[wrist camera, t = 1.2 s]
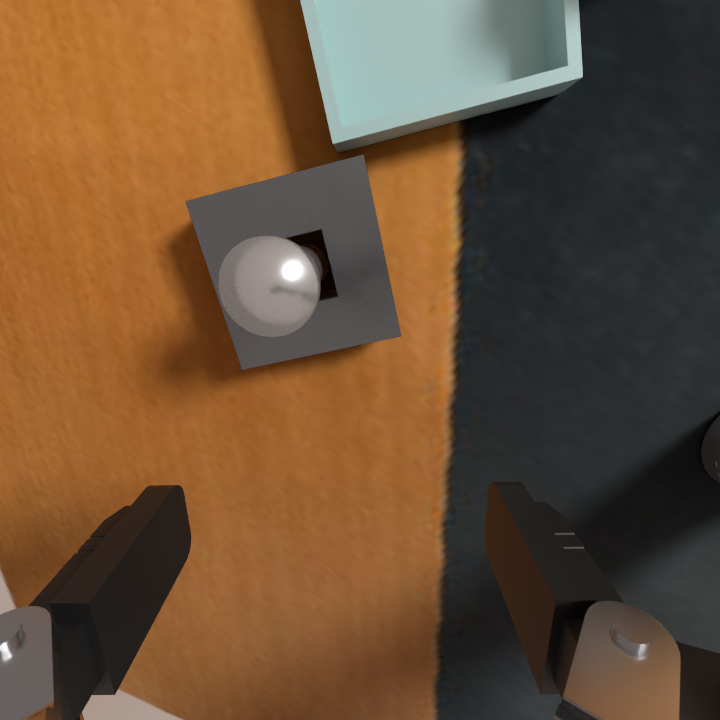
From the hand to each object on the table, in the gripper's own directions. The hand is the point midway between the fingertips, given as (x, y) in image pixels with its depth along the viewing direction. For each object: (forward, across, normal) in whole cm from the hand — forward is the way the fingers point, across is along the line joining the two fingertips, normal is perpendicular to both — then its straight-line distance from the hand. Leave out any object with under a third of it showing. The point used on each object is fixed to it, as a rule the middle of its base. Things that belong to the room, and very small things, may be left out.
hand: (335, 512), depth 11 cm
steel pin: (+24, +4, -4) cm, 25 cm away
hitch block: (+24, +4, -4) cm, 25 cm away
